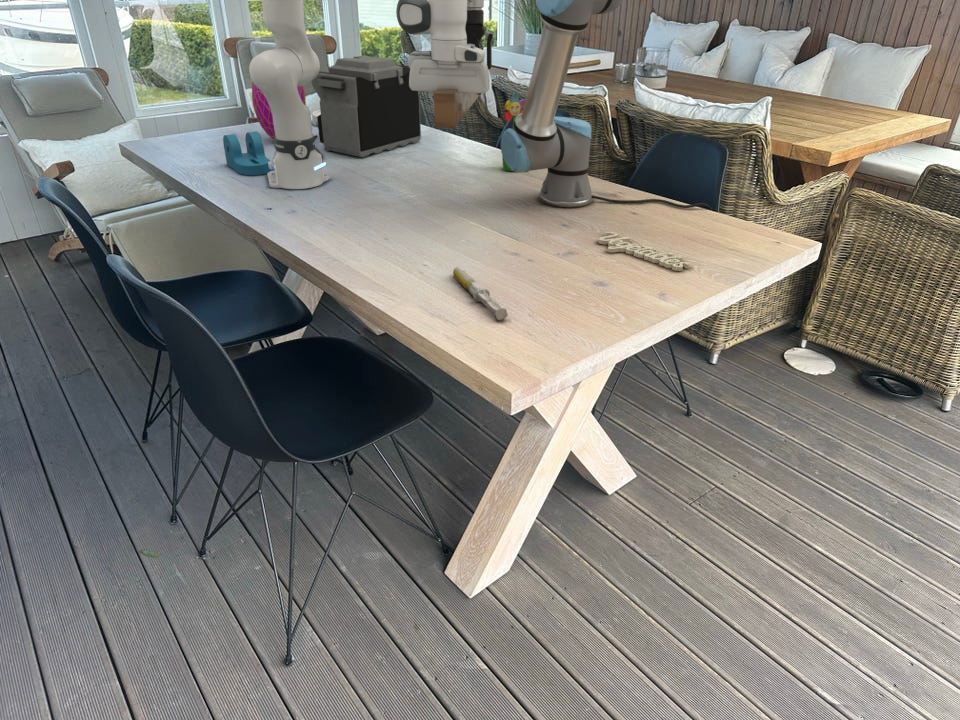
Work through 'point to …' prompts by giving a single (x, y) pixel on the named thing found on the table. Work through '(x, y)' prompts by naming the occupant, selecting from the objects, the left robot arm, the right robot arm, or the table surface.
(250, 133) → the camera mount
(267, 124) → the decorative egg
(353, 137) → the grey black box
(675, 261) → the decorative sign
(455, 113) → the bar
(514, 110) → the potted flower
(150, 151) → the table surface
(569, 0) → the right robot arm
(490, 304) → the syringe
